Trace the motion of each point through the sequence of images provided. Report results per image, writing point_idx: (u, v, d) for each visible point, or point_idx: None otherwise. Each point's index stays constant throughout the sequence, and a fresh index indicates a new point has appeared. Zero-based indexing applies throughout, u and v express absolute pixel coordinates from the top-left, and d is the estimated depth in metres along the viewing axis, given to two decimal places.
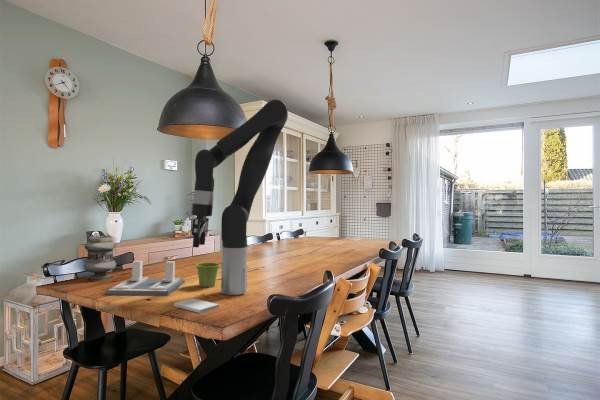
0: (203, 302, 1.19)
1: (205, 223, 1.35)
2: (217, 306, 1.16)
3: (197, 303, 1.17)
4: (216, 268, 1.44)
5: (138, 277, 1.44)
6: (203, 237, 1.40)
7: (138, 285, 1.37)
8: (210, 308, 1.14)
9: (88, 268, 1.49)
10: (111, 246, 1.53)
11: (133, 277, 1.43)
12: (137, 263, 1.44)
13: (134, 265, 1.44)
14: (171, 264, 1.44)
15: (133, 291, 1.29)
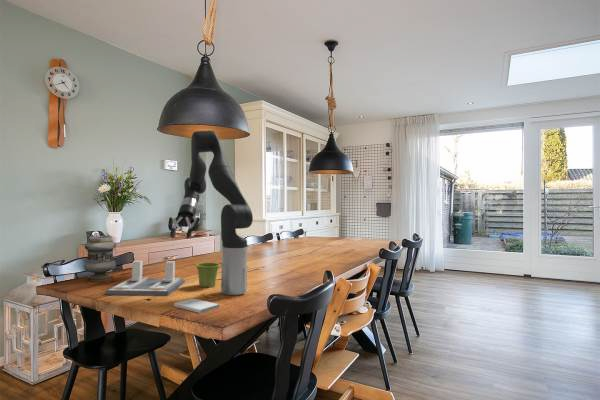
0: (203, 302, 1.19)
1: (181, 218, 1.63)
2: (217, 306, 1.16)
3: (197, 303, 1.17)
4: (216, 268, 1.44)
5: (138, 277, 1.44)
6: None
7: (138, 285, 1.37)
8: (210, 308, 1.14)
9: (88, 268, 1.49)
10: (111, 246, 1.53)
11: (133, 277, 1.43)
12: (137, 263, 1.44)
13: (134, 265, 1.44)
14: (171, 264, 1.44)
15: (133, 291, 1.29)
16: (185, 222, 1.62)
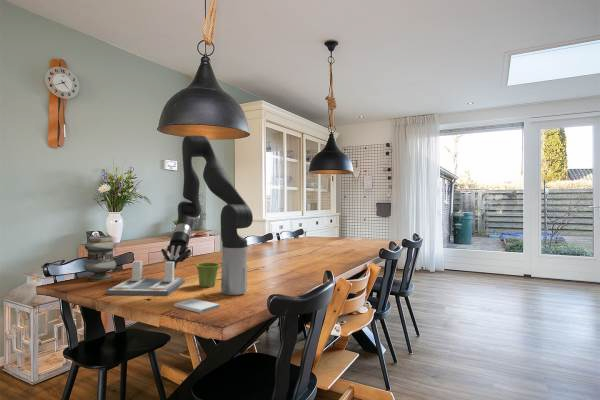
0: (204, 302, 1.18)
1: (174, 246, 1.52)
2: (218, 306, 1.16)
3: (198, 303, 1.17)
4: (216, 268, 1.44)
5: (138, 277, 1.44)
6: None
7: (138, 285, 1.37)
8: (211, 308, 1.14)
9: (88, 268, 1.49)
10: (111, 246, 1.53)
11: (133, 277, 1.43)
12: (137, 263, 1.44)
13: (134, 265, 1.44)
14: (170, 264, 1.43)
15: (133, 291, 1.29)
16: (175, 250, 1.51)
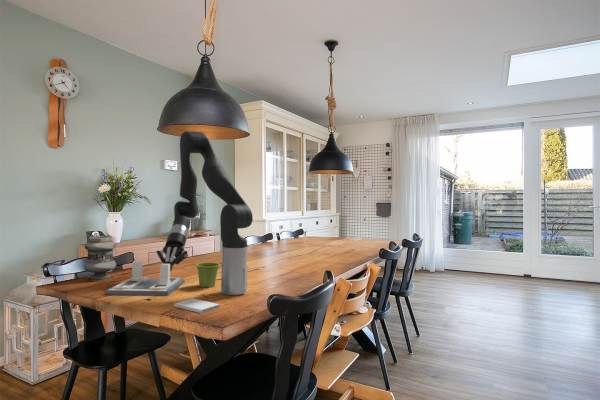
0: (204, 302, 1.18)
1: (169, 248, 1.47)
2: (218, 306, 1.16)
3: (198, 303, 1.17)
4: (216, 268, 1.44)
5: (138, 277, 1.44)
6: None
7: (138, 285, 1.37)
8: (211, 308, 1.14)
9: (88, 268, 1.49)
10: (111, 246, 1.53)
11: (133, 277, 1.43)
12: (137, 263, 1.44)
13: (134, 265, 1.44)
14: (166, 267, 1.38)
15: (133, 291, 1.29)
16: (171, 252, 1.46)
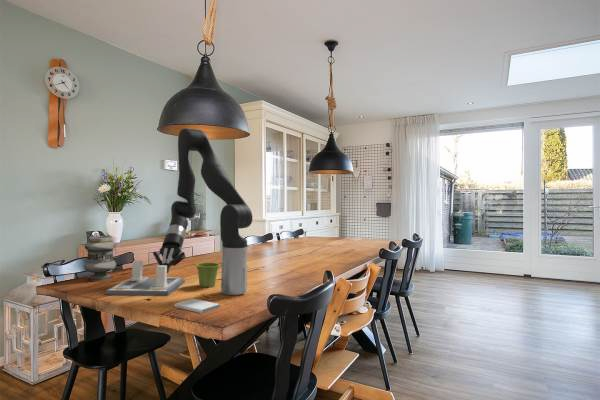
0: (204, 302, 1.18)
1: (166, 249, 1.43)
2: (218, 306, 1.16)
3: (198, 303, 1.17)
4: (216, 268, 1.44)
5: (138, 277, 1.44)
6: None
7: (138, 285, 1.37)
8: (211, 308, 1.14)
9: (88, 268, 1.49)
10: (111, 246, 1.53)
11: (133, 277, 1.43)
12: (137, 263, 1.44)
13: (134, 265, 1.44)
14: (163, 268, 1.34)
15: (133, 291, 1.29)
16: (168, 253, 1.43)
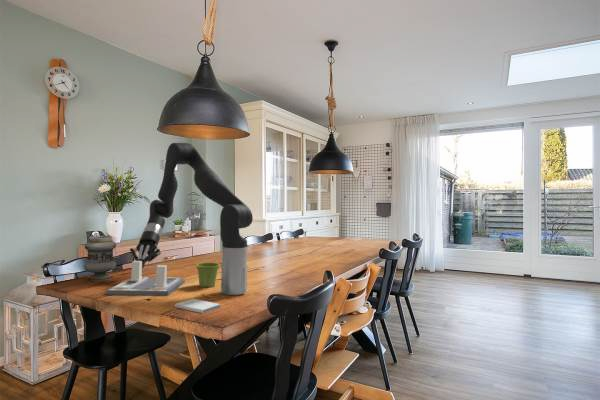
0: (204, 302, 1.18)
1: (142, 246, 1.52)
2: (219, 306, 1.16)
3: (198, 303, 1.17)
4: (216, 268, 1.44)
5: (137, 277, 1.43)
6: None
7: (138, 285, 1.37)
8: (212, 308, 1.14)
9: (88, 268, 1.49)
10: (111, 246, 1.53)
11: (132, 277, 1.43)
12: (136, 263, 1.43)
13: (133, 265, 1.43)
14: (162, 268, 1.34)
15: (133, 291, 1.29)
16: (144, 250, 1.51)
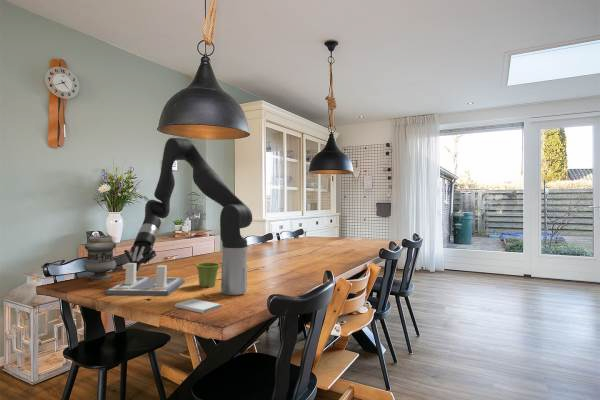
0: (204, 302, 1.18)
1: (137, 247, 1.46)
2: (219, 306, 1.16)
3: (199, 303, 1.17)
4: (216, 268, 1.44)
5: (132, 280, 1.38)
6: None
7: (138, 285, 1.37)
8: (213, 308, 1.14)
9: (88, 268, 1.49)
10: (111, 246, 1.53)
11: (126, 280, 1.38)
12: (131, 266, 1.38)
13: (127, 268, 1.38)
14: (162, 268, 1.34)
15: (133, 291, 1.29)
16: (139, 251, 1.46)
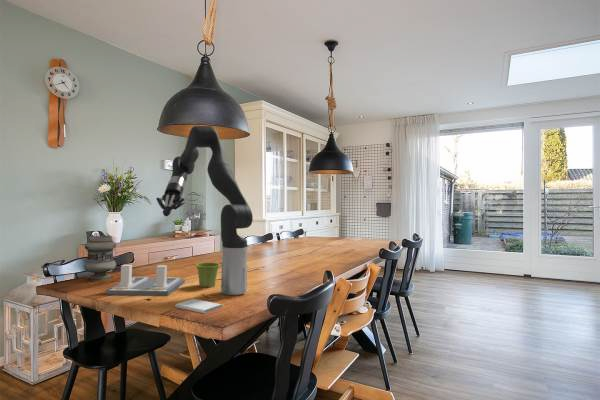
0: (205, 302, 1.18)
1: (168, 195, 1.62)
2: (220, 306, 1.16)
3: (199, 303, 1.17)
4: (216, 268, 1.44)
5: (127, 282, 1.34)
6: None
7: (138, 285, 1.37)
8: (214, 308, 1.14)
9: (88, 268, 1.49)
10: (111, 246, 1.53)
11: (122, 282, 1.34)
12: (126, 267, 1.34)
13: (123, 270, 1.34)
14: (162, 268, 1.34)
15: (133, 291, 1.29)
16: (170, 199, 1.61)
